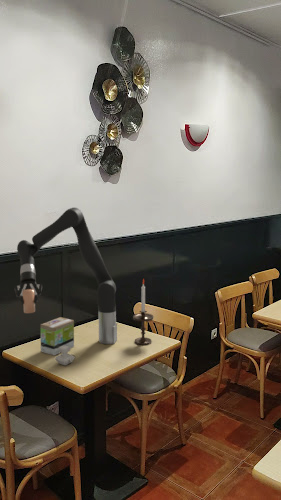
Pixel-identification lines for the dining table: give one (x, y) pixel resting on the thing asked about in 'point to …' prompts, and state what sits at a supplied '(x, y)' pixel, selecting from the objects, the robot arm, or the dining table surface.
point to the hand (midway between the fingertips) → (29, 303)
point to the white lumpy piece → (64, 356)
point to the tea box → (57, 335)
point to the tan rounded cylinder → (28, 301)
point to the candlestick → (143, 317)
